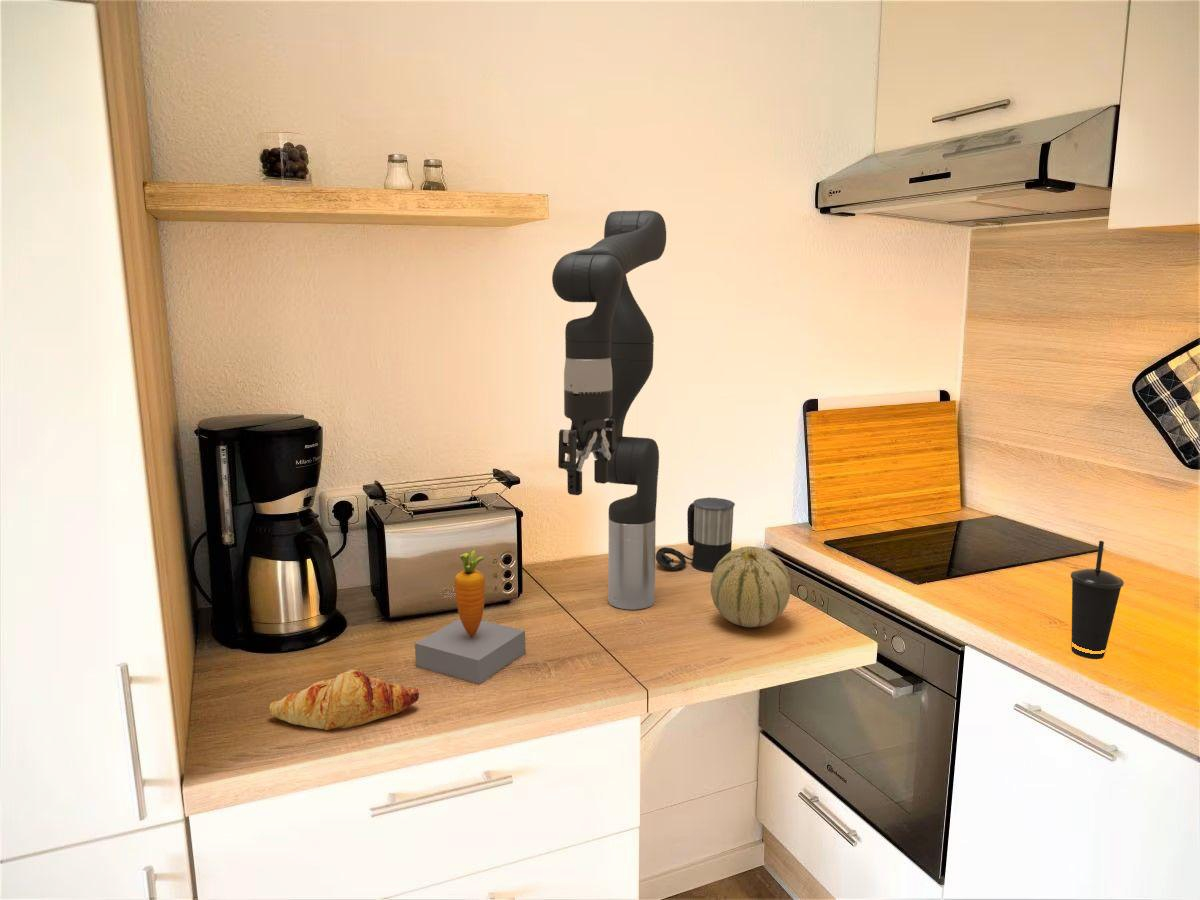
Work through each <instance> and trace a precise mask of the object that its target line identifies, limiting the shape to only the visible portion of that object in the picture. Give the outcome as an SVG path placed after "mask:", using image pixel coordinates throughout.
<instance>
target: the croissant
mask: <svg viewBox="0 0 1200 900" xmlns="http://www.w3.org/2000/svg"><path fill="white" fill-rule="evenodd" d="M366 675H367V674H366V673H364V672H363V671H362V670H360V669H348V670H347V671H344V672H342V673H340V674H337V676H336V677H334V678H330V679H329V678H327V679H324V680H320V681H317V682H314V683H313V684H312V685H310V686H309V687H307V688H304V689H303V690H297V691H293V692H291V693H289V694H288V695H285V696H284V697H282V699H280V700H276V701H272V702H271V703H270V704H269V714H270V715H271V716H273V717H274V718H277V719H279V720H280V721H285V722H287V723H289V724H292V725H295V726H296V725H298V726H302V727H303V726H304V727H306V728H314V729H317V730H318V729H319V730H325V731H329V730H334V729H337V728H338V729H339V728H340V729H343V728H344V729H345V728H346V729H348V728H352V727H357V726H362V725H364V724H366V723H367V724H368V723H370V722H372V721H376V720H378V719H383V718H387V717H390V716H393V715H396V714H398V713H400V712H403V711H405V710H406V709H408V708H409V707H410V706H412V705H413V704H415V703H417V702H418V700H419V698H420V691H419V689H418V688H417V687H412V688H411V687H410V688H405V687H404V685H401V684H399V683H392V684H390V683H387V682H385V681H383V679H381V678H378V677H377V676H376V675H375V676H374V675H373V676H369V675H367V676H366Z"/></svg>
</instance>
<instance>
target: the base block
mask: <svg viewBox="0 0 1200 900" xmlns="http://www.w3.org/2000/svg"><path fill="white" fill-rule="evenodd" d="M414 653H415V654H414V656H415V666H416V667H418V668H423V669H424V670H425V669H426V670H429V671H431V672H436V673H439V674H443V675H446V676H449V677H454V678H457V679H460V680H464V681H467V682H471V683H473V684H478V685H481V684H482V683H483V682H485V681H486V680H487V679H489V678H491V677H492V676H493V675H495V674H497V672H499V671H500V670H502V669H503V668H505V667H507V666H508V665H510V664H511V663H512V662H514V661H515V660H518V658H520V657H521V656H522V655H524V654H525V653H526V630H525V629H520V628H516V627H512V626H507V625H503V624H500V623H495V622H492V621H488V620H487V621H486V620H481V622H480V625H479V628H478V630H477V632H476V634H475V635H474V636H473V637H470V636H469V635H468V633H467V632H466V630H465V628H464V626H463V624H462V622H461V620H460V618H458V619H456V620H454V621H453V622H451V623H450V624H447V625H445V626H443V627H442V628H440V629H438V630H436V631H434V632H432V633H431V634H429V635H427V636H425V637H424V638H422V639H420V640H418V641H416V642H415V643H414Z"/></svg>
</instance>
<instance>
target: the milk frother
mask: <svg viewBox="0 0 1200 900" xmlns="http://www.w3.org/2000/svg"><path fill="white" fill-rule="evenodd" d="M735 506H736V504H735V502H734V501H732V500H729V499H726V498H722V497H721V498H720V497H701V498H698V499H697V498H696V499H695V500H693V502H692V503H690V504H689V505H688V507H687V516H686V517H687V544H688V545H689V546H690V547H691V546H693V548H692V558H691V557H688V556H687V555H685V554H684V553H683V552H680V551H679V550H676V549H674V548H672V547H665V546H664V547H661V548H659V549H658V550H657V551H656V552H655V562H656V563H657V564H658V565H659V566H660V567H662V568H663V569H665V570H669V571H677V570H682V569H684V568H685V567H686V563H687V561H686V560H689V561H691V563H690V565H691V566H692V567H693V568H695V569H696V570H699V571H704V572H710V573H711V572H714V569H715V567H716V565H717V564H718V562H719V561H720V560H721V559H722V558H723V557H724V556H725V555H726V554H728V553H729V552H730V551H732V541H733V540H732V539H733V525H734V507H735ZM666 554H669V555H672V556H675V557H676V558H677V559H678V560H679V563H677V564H674V562H675V559H674V558H671V557H670V556H668V555H666Z"/></svg>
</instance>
